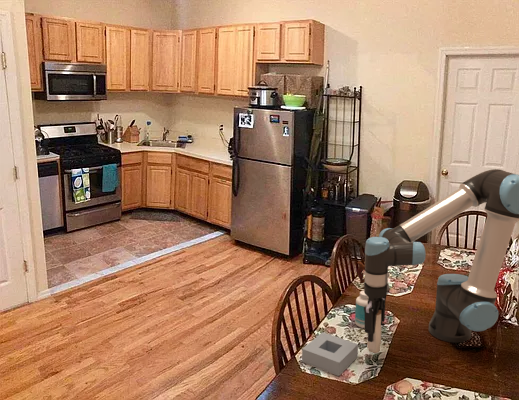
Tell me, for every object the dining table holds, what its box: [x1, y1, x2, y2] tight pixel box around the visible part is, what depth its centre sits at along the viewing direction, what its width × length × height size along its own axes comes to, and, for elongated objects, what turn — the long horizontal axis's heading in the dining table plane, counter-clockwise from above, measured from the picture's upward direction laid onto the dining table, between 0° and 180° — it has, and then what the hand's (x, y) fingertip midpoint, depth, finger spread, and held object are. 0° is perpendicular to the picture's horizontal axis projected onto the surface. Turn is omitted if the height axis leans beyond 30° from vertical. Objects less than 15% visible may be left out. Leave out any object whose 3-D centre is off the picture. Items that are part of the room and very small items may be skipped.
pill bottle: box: [354, 290, 369, 329], centre depth 186 cm, size 8×7×14 cm
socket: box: [301, 331, 359, 377], centre depth 163 cm, size 14×14×5 cm
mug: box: [357, 260, 390, 293], centre depth 218 cm, size 12×14×15 cm
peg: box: [367, 310, 382, 354], centre depth 163 cm, size 4×4×15 cm
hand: (374, 345), depth 164 cm, fingers closed on peg, 4 cm apart
